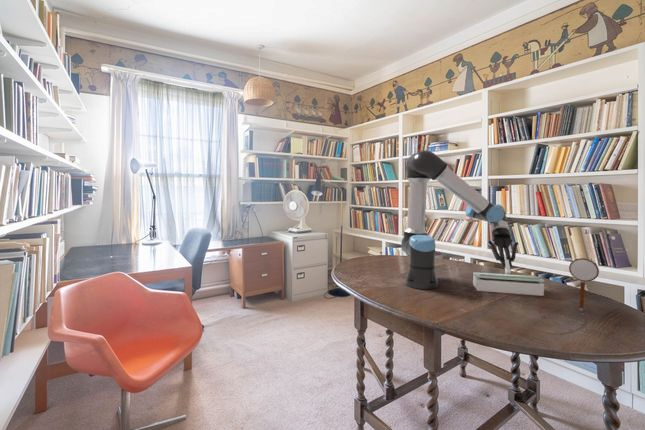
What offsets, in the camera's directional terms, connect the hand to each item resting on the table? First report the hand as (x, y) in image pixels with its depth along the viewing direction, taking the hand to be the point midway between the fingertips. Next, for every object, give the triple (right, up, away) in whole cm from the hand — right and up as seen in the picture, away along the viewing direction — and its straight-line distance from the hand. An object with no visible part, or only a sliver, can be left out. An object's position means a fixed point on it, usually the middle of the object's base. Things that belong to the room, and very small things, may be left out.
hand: (508, 273), depth 139 cm
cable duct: (+1, -8, +3) cm, 8 cm away
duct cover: (+1, -2, +2) cm, 3 cm away
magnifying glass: (+14, -10, -22) cm, 28 cm away
